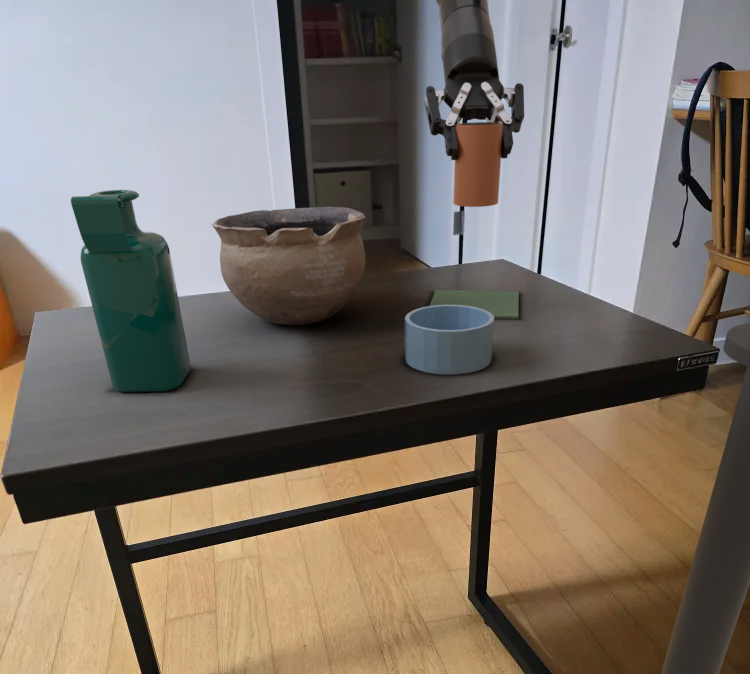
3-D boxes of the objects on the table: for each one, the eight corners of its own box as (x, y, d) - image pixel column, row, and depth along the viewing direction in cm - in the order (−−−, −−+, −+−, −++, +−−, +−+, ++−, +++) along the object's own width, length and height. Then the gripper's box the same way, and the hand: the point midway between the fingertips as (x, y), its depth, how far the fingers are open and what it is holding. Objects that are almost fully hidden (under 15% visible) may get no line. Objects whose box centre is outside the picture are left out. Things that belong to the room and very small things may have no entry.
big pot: (492, 345, 91) (495, 305, 88) (489, 376, 82) (492, 332, 79) (411, 343, 93) (411, 303, 90) (399, 372, 84) (399, 329, 81)
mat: (518, 293, 113) (518, 291, 112) (518, 318, 101) (518, 316, 101) (435, 292, 115) (435, 289, 115) (426, 316, 103) (426, 313, 103)
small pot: (498, 199, 99) (503, 121, 93) (497, 206, 93) (502, 124, 88) (455, 199, 100) (457, 122, 94) (451, 206, 94) (454, 125, 89)
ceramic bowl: (239, 348, 93) (223, 234, 85) (217, 307, 111) (202, 210, 103) (388, 327, 99) (386, 219, 91) (344, 292, 117) (339, 198, 109)
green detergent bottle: (131, 368, 88) (88, 185, 76) (195, 367, 88) (161, 183, 76) (104, 398, 80) (51, 198, 68) (174, 397, 79) (134, 195, 68)
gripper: (421, 32, 91) (431, 136, 88) (525, 29, 92) (539, 132, 88) (416, 78, 99) (425, 176, 95) (512, 75, 99) (525, 172, 96)
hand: (480, 154), depth 92 cm, fingers closed on small pot, 6 cm apart
